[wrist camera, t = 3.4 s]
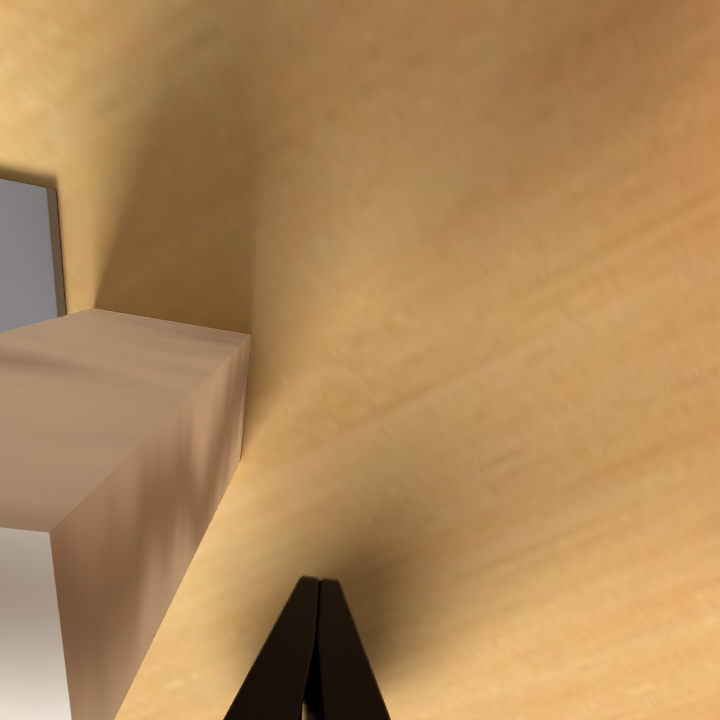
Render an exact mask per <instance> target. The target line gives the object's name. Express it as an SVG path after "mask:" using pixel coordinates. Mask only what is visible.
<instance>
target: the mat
mask: <svg viewBox="0 0 720 720" xmlns="http://www.w3.org/2000/svg"><path fill="white" fill-rule="evenodd" d="M62 316H66V311H65V299H64V286H63V274H62V262H61V249H60V237H59V224H58V212H57V199H56V189H51V188H46V187H41V186H36V185H31V184H26V183H21V182H15V181H10V180H5V179H0V333H1V332H5V331H9V330H12V329H16V328H20V327H24V326H28V325H31V324H35V323H39V322H43V321H47V320H50V319H54V318H58V317H62Z"/></svg>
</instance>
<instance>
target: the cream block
mask: <svg viewBox="0 0 720 720" xmlns="http://www.w3.org/2000/svg"><path fill="white" fill-rule="evenodd" d="M251 336H252V335H251V334H245V333H239V332H233V331H227V330H221V329H215V328H209V327H203V326H197V325H191V324H185V323H179V322H173V321H167V320H161V319H155V318H149V317H143V316H137V315H132V314H126V313H120V312H114V311H108V310H102V309H96V308H92V309H88V310H84V311H81V312H77V313H73V314H69V315H66V316H62V317H58V318H54V319H50V320H47V321H43V322H39V323H35V324H31V325H28V326H24V327H20V328H16V329H12V330H9V331H5V332H1V333H0V720H114V719H115V717H116V715H117V713H118V711H119V709H120V707H121V704H122V702H123V700H124V698H125V696H126V694H127V692H128V690H129V688H130V686H131V684H132V682H133V680H134V678H135V676H136V674H137V672H138V670H139V668H140V665H141V663H142V661H143V659H144V657H145V655H146V653H147V651H148V649H149V647H150V645H151V643H152V641H153V639H154V637H155V635H156V633H157V631H158V629H159V627H160V624H161V622H162V620H163V618H164V616H165V614H166V612H167V610H168V608H169V606H170V604H171V602H172V600H173V598H174V596H175V594H176V592H177V590H178V588H179V585H180V583H181V581H182V579H183V577H184V575H185V573H186V571H187V569H188V567H189V565H190V563H191V561H192V559H193V557H194V555H195V553H196V551H197V549H198V546H199V544H200V542H201V540H202V538H203V536H204V534H205V532H206V530H207V528H208V526H209V524H210V522H211V520H212V518H213V516H214V514H215V512H216V510H217V507H218V505H219V503H220V501H221V499H222V497H223V495H224V493H225V491H226V489H227V487H228V485H229V483H230V481H231V479H232V477H233V475H234V473H235V471H236V468H237V466H238V464H239V462H240V456H241V445H242V435H243V424H244V413H245V402H246V391H247V380H248V369H249V358H250V347H251Z"/></svg>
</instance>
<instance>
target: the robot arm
mask: <svg viewBox="0 0 720 720" xmlns="http://www.w3.org/2000/svg"><path fill="white" fill-rule="evenodd" d="M223 720H391V719H390V716H389V713H388V710H387V708H386V705H385V702H384V700H383V697H382V694H381V692H380V689H379V686H378V683H377V681H376V678H375V675H374V673H373V670H372V667H371V665H370V662H369V659H368V657H367V654H366V651H365V648H364V646H363V643H362V640H361V638H360V635H359V632H358V630H357V627H356V624H355V621H354V619H353V616H352V613H351V611H350V608H349V605H348V603H347V600H346V597H345V594H344V592H343V589H342V586H341V584H340V582H339V580H338V579H334V578H325V577H323V578H321V579H320V581H319V578H318V577H316V576H307V575H302V576H301V577H300V578H299V580H298V582H297V583H296V585H295V587H294V589H293V591H292V593H291V595H290V596H289V598H288V600H287V602H286V604H285V606H284V608H283V609H282V611H281V613H280V615H279V617H278V619H277V621H276V623H275V624H274V626H273V628H272V630H271V632H270V634H269V636H268V637H267V639H266V641H265V643H264V645H263V647H262V649H261V650H260V652H259V654H258V656H257V658H256V660H255V662H254V663H253V665H252V667H251V669H250V671H249V673H248V675H247V676H246V678H245V680H244V682H243V684H242V686H241V688H240V689H239V691H238V693H237V695H236V697H235V699H234V701H233V703H232V704H231V706H230V708H229V710H228V712H227V714H226V716H225V717H224V719H223Z"/></svg>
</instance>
